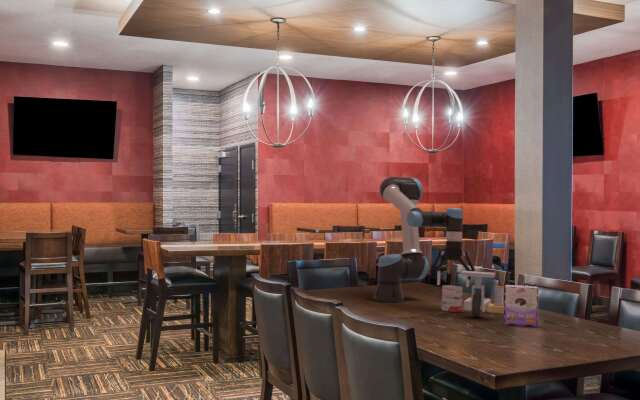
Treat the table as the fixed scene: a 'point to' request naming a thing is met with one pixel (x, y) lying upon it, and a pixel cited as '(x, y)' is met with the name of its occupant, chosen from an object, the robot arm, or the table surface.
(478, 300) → the white pedestal stand
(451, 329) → the table surface
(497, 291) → the stop pin
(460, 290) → the ink box
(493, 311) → the pin socket
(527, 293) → the candy box
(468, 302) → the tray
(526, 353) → the table surface
